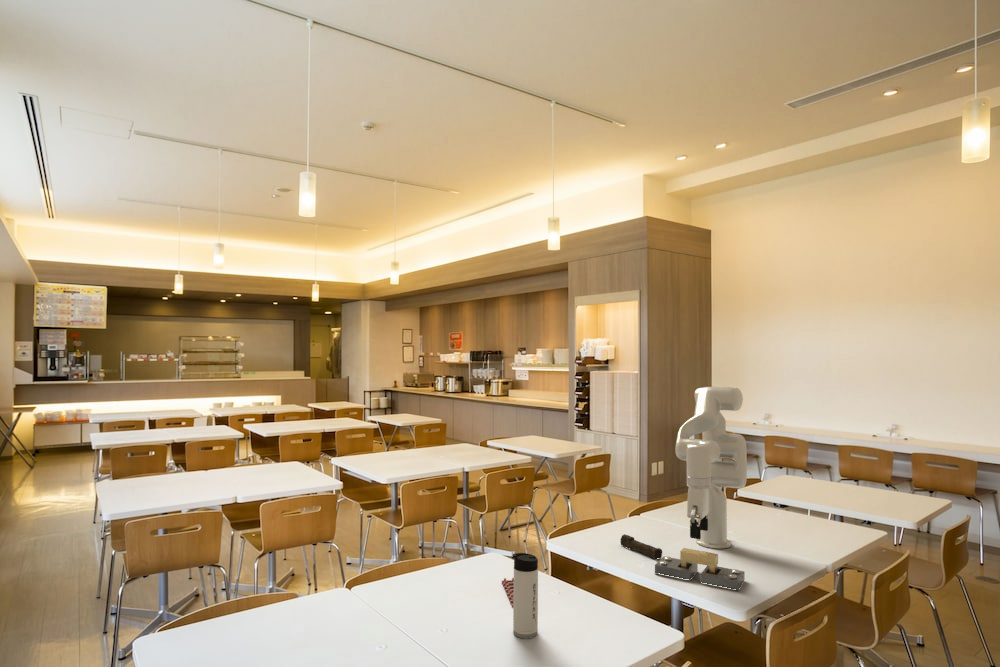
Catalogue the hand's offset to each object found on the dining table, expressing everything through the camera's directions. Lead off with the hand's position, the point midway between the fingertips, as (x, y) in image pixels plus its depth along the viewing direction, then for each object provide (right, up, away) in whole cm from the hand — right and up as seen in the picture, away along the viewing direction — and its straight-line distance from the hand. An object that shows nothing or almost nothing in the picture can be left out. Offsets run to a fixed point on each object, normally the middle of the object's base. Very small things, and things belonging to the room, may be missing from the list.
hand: (699, 534), depth 193 cm
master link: (0, -14, -1) cm, 14 cm away
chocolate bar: (-60, -13, -16) cm, 63 cm away
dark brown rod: (-14, -15, +23) cm, 31 cm away
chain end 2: (+6, -14, -5) cm, 16 cm away
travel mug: (-59, -12, -41) cm, 73 cm away
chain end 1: (-7, -14, +3) cm, 16 cm away
